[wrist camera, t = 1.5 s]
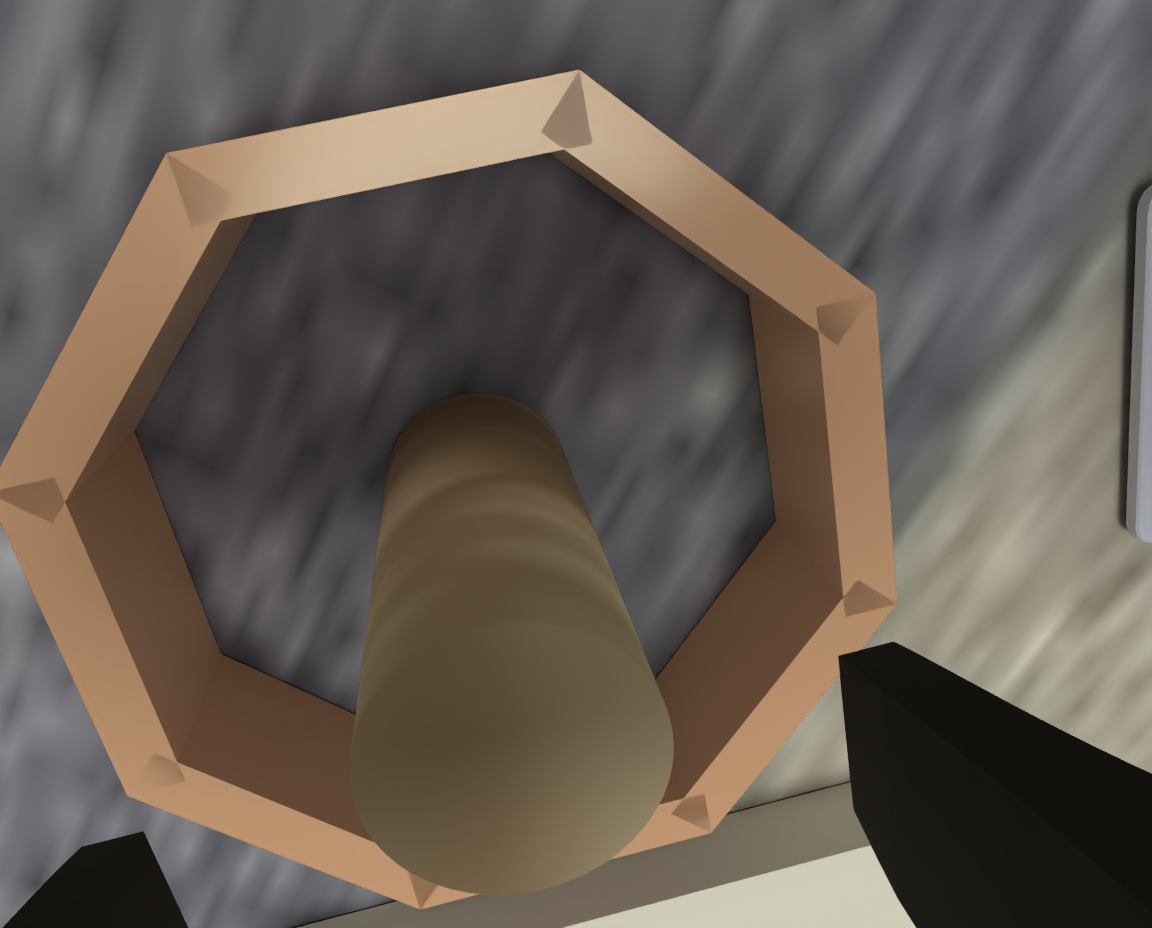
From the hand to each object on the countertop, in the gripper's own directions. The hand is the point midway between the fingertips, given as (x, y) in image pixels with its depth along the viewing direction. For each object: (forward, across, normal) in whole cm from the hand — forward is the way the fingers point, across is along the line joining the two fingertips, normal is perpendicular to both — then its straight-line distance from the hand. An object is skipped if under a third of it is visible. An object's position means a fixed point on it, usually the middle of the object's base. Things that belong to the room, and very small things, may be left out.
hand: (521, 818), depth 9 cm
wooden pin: (+10, 0, 0) cm, 10 cm away
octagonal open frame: (+10, 0, 0) cm, 10 cm away
